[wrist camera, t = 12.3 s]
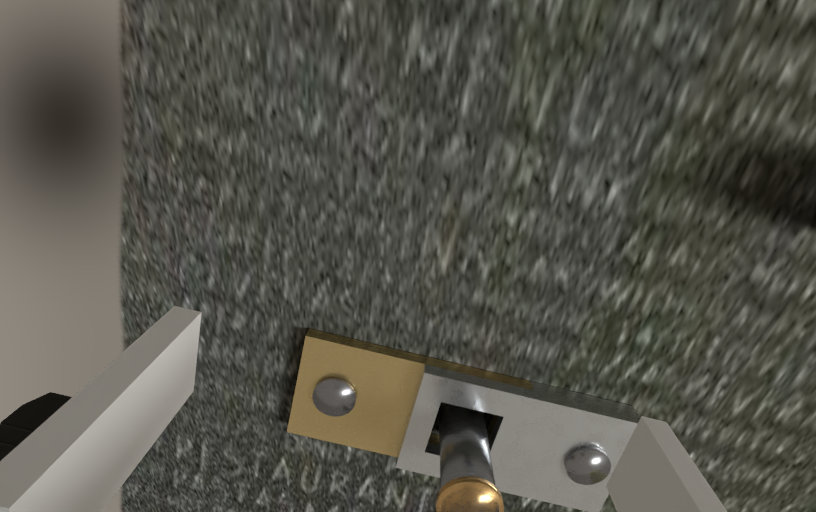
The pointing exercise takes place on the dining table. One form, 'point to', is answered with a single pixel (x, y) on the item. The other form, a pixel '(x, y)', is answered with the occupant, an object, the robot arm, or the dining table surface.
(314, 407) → the link
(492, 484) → the pin
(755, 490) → the dining table surface
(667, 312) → the dining table surface
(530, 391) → the link
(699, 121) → the dining table surface
